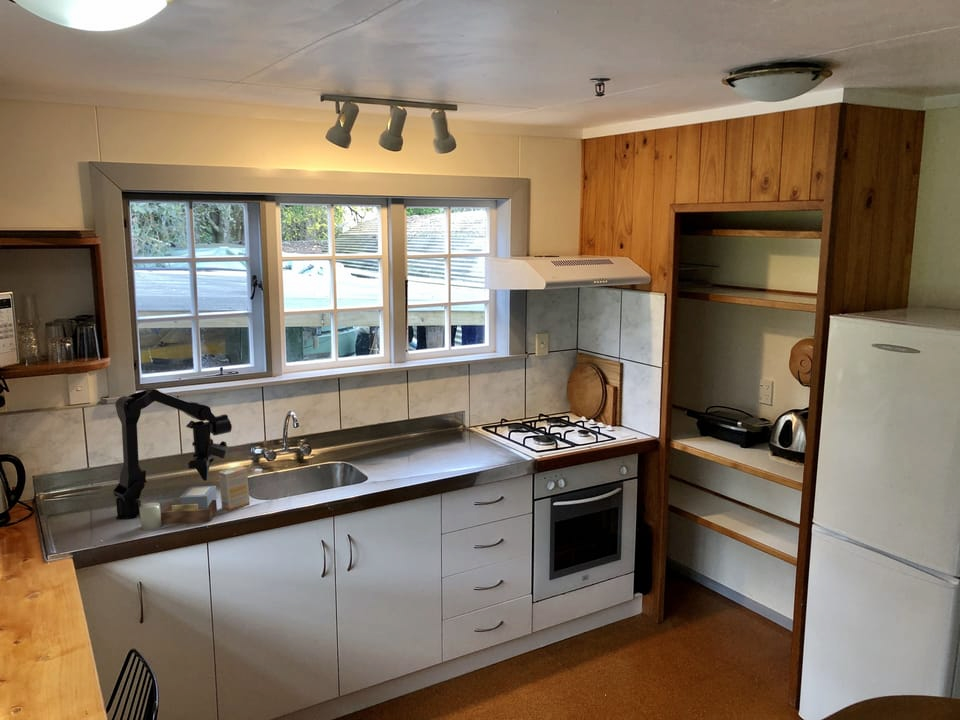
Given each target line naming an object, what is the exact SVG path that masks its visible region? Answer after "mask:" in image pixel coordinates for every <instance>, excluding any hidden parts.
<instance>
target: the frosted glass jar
mask: <svg viewBox="0 0 960 720" xmlns="http://www.w3.org/2000/svg"><path fill="white" fill-rule="evenodd" d="M139 509H140V514H139V516H140V519H139V520H140V526H141V527H140V528H141V530H142V531H154V530H158V529H160V528H161V527H163V524H162V522H161V511H162V510H161V504H160V503H159V502H148V503H147V502H146V503H144V504H141V506H140V507H139Z"/></svg>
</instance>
